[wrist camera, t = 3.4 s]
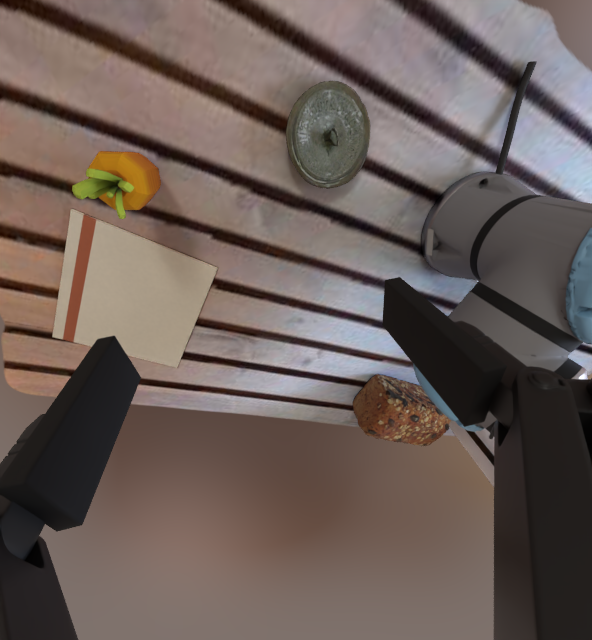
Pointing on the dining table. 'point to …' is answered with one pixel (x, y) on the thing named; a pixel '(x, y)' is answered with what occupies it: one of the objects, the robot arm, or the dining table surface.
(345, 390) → the dining table surface
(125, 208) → the carrot
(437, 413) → the bread
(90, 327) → the napkin
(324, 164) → the lid
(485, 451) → the coffee press
